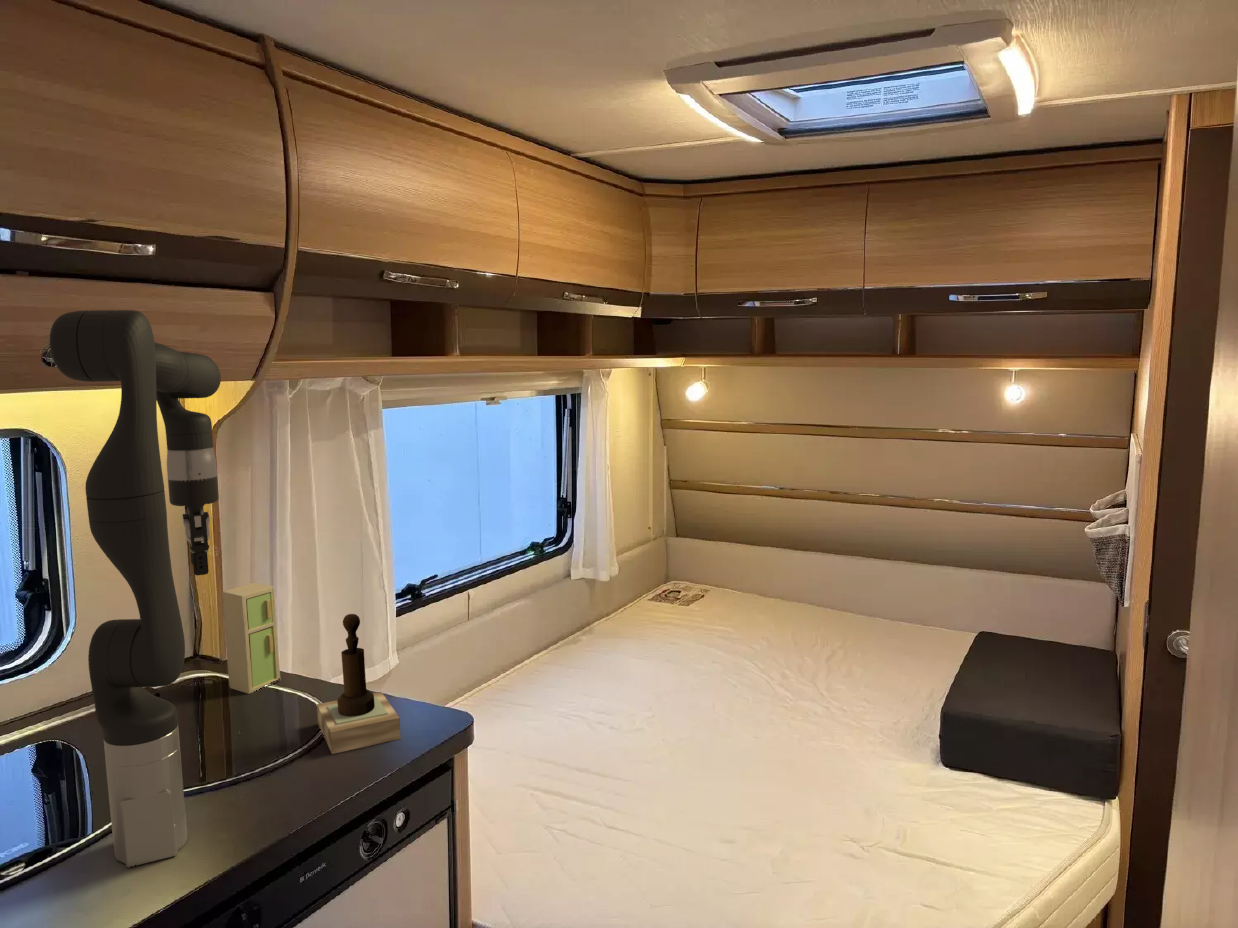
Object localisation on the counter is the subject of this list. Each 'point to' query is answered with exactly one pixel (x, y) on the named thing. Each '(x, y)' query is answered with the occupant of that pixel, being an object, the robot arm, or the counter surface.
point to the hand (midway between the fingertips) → (199, 569)
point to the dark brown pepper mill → (354, 674)
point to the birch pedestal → (358, 725)
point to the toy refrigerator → (251, 636)
